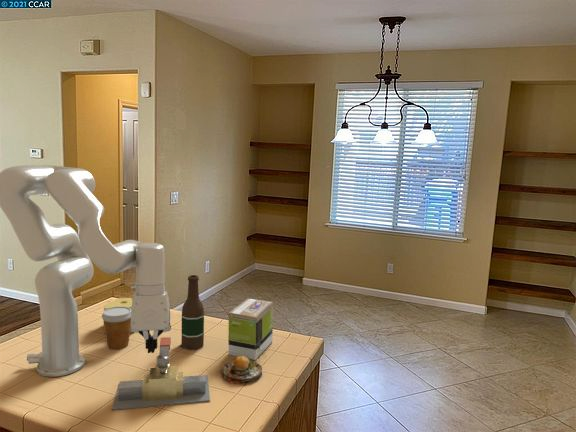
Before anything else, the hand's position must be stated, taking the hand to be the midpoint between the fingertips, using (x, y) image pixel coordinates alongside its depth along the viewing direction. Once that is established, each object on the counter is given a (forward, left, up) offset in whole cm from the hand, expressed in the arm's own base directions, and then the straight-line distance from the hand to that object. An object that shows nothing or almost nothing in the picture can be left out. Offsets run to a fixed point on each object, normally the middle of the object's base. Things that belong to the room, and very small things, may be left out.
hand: (151, 350), depth 122 cm
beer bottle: (+12, +20, -9) cm, 25 cm away
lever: (+4, -3, 0) cm, 5 cm away
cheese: (-13, +37, -9) cm, 40 cm away
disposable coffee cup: (-12, +23, -9) cm, 28 cm away
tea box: (+31, +15, -9) cm, 35 cm away
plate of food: (+26, -1, -9) cm, 27 cm away
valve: (+4, -9, -9) cm, 13 cm away
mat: (+4, -7, -9) cm, 12 cm away
